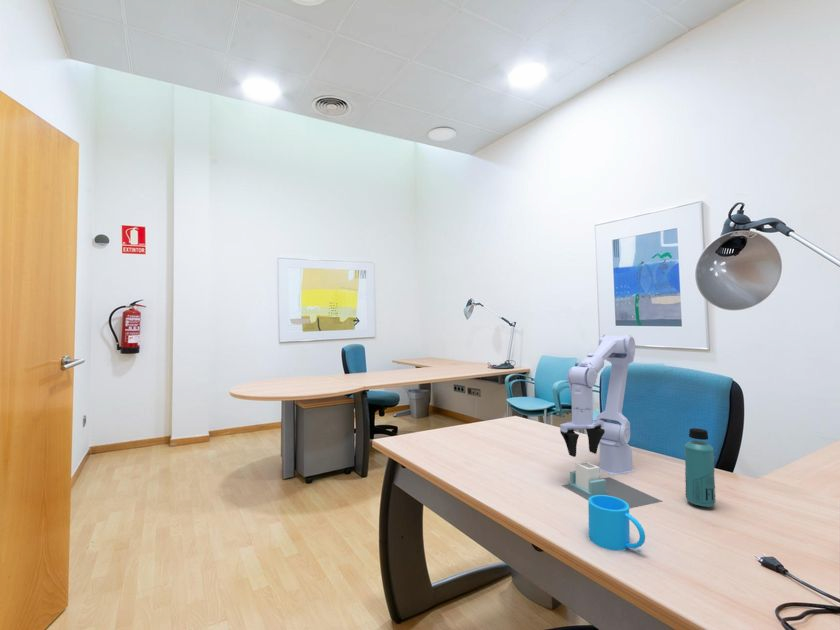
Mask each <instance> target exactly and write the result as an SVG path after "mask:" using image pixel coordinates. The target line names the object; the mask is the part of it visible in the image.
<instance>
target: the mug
mask: <svg viewBox="0 0 840 630" xmlns="http://www.w3.org/2000/svg"><path fill="white" fill-rule="evenodd" d="M587 501H588V504H587V505H588V506H587V507H588V511H587V512H588V538H589V540H590V541H591V542H592V543H593V544H594V545H595V546H597V547H600V548H603V549H606V550H610V551H625V550H627V549H637V548H640V547H642V546H643V545H644V544H645V542H646V541H645V540H646V533H645V530H644V528H643V526H642V524H641V523H640V522H639V520H637V519H636V518H635V517H634V516H633V515H631V514H630V508H629V505H628V503H626V502H625V501H624V500H621V499H619V498H616V497H613V496H608V495H595V496H591V497H590V498H589V500H587ZM630 521H631V522H632V523H633V525H634V526H635V527H636V528H637V531H638V534H639V538H638V539H639V540H637V542H635V543H631V540H630V538H631V536H630V534H631V533H630Z"/></svg>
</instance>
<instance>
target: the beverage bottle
mask: <svg viewBox="0 0 840 630" xmlns="http://www.w3.org/2000/svg"><path fill="white" fill-rule="evenodd" d="M688 430H689V432H688V437H689V438H690V439H694V440H689V441H688V442H686V443H685V444H684V455H685V456H684V462H685V465H684V467H685V468H684V471H685V472H684V476H685V477H684V479H685V484H684V486H685V487H684V490H685V498H686V500H687V501H688V502H689V503H691V504H693V505H696V506H701V507H707V508H709V507H710V508H711V507H714V506H715V505H716V501H717V500H716V492H717V491H716V481H715V478H716V477H715V461H714V457H715V456H714V452H715V451H714V450H715V449H714V447H713V446H712V445H711V444H709V443H708V442H705V440H708V439H709V435H708V434H709V433H708V430H706V429H703V428H696V427H695V428H694V427H693V428H689V429H688ZM700 440H701V441H700ZM702 440H704V441H702Z"/></svg>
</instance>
